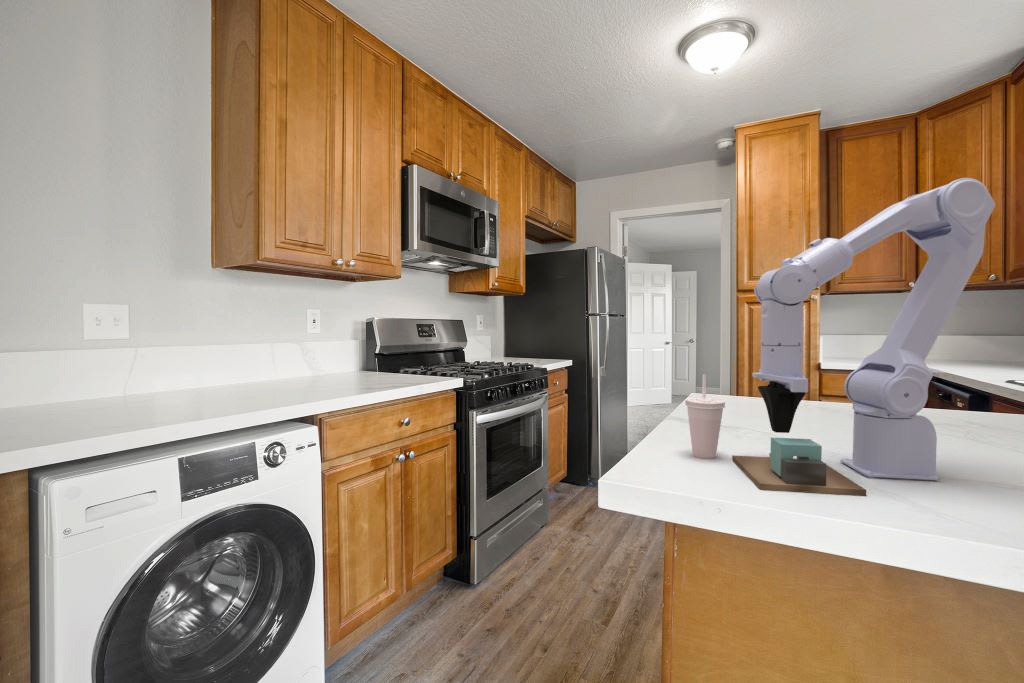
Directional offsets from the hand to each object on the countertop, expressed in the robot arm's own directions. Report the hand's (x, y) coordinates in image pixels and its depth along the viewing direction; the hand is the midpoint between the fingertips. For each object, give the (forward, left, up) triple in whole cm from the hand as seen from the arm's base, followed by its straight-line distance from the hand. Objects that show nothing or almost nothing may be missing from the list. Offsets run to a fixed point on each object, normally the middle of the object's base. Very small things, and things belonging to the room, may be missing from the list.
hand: (780, 431), depth 73 cm
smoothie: (+10, -5, -6) cm, 13 cm away
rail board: (0, +4, -6) cm, 7 cm away
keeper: (0, +6, -5) cm, 8 cm away
